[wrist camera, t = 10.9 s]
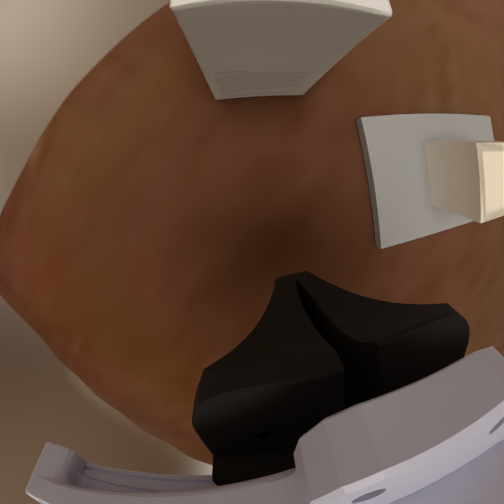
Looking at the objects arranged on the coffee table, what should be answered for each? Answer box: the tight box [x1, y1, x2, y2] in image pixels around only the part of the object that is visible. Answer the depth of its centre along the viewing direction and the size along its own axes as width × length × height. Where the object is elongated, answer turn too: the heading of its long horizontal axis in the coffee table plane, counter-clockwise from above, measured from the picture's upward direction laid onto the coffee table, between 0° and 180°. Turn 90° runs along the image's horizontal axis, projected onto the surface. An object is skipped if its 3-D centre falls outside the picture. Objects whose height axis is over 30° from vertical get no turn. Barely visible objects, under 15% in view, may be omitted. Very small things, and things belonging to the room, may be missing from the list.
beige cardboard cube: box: [424, 140, 504, 223], centre depth 15 cm, size 5×5×6 cm
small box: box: [169, 0, 392, 100], centre depth 9 cm, size 8×6×13 cm
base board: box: [356, 114, 494, 249], centre depth 18 cm, size 10×16×1 cm, turn 104°
